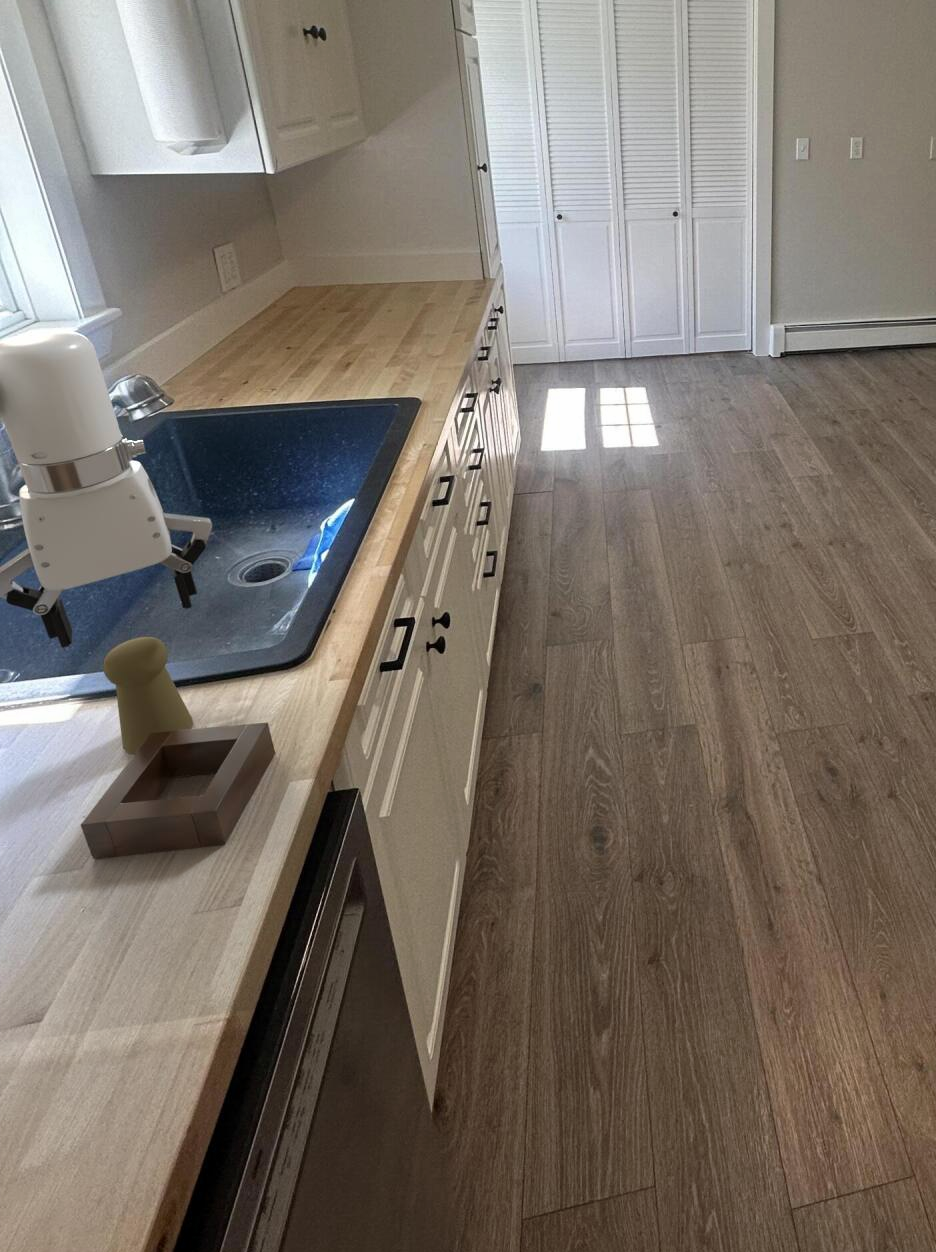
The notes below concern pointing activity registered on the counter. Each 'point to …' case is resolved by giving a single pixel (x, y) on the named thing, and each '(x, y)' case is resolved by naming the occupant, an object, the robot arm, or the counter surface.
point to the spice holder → (154, 825)
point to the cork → (144, 691)
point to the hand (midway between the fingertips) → (129, 620)
